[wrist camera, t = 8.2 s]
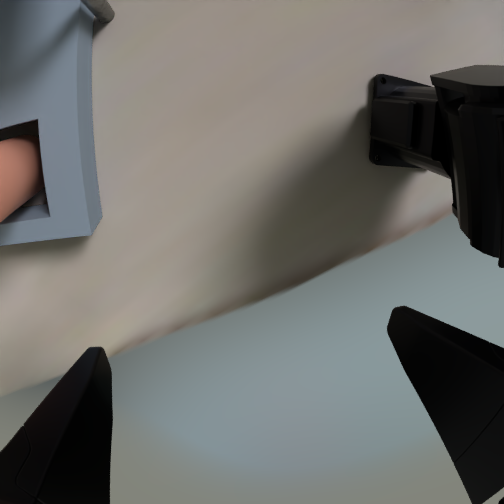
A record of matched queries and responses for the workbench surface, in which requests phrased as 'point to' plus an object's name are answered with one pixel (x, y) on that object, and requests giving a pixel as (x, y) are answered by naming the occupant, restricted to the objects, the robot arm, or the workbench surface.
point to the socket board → (51, 113)
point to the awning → (100, 9)
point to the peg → (19, 172)
